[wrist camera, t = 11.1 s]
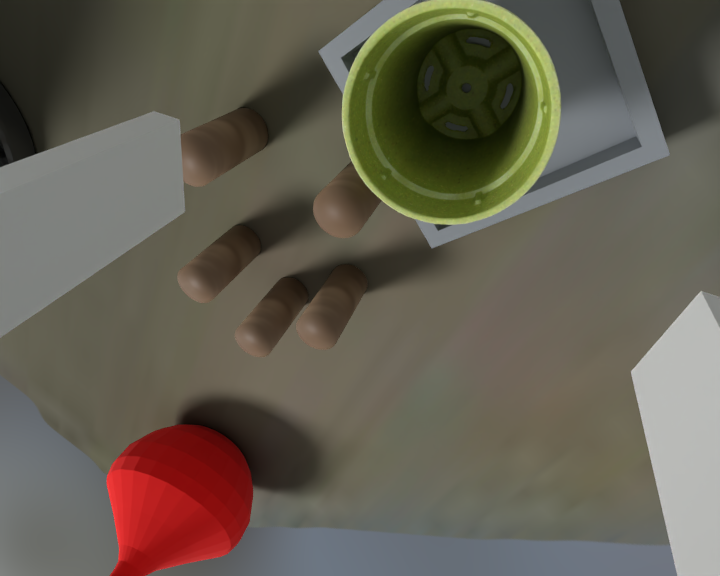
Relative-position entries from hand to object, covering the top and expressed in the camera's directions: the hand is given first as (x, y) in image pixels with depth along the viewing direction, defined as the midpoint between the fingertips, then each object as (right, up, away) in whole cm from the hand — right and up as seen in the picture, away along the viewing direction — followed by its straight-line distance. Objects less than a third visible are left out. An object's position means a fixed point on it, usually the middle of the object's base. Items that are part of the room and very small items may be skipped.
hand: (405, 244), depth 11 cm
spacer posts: (-6, +5, +24) cm, 25 cm away
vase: (-21, -23, +51) cm, 60 cm away
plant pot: (+5, +11, +15) cm, 19 cm away
